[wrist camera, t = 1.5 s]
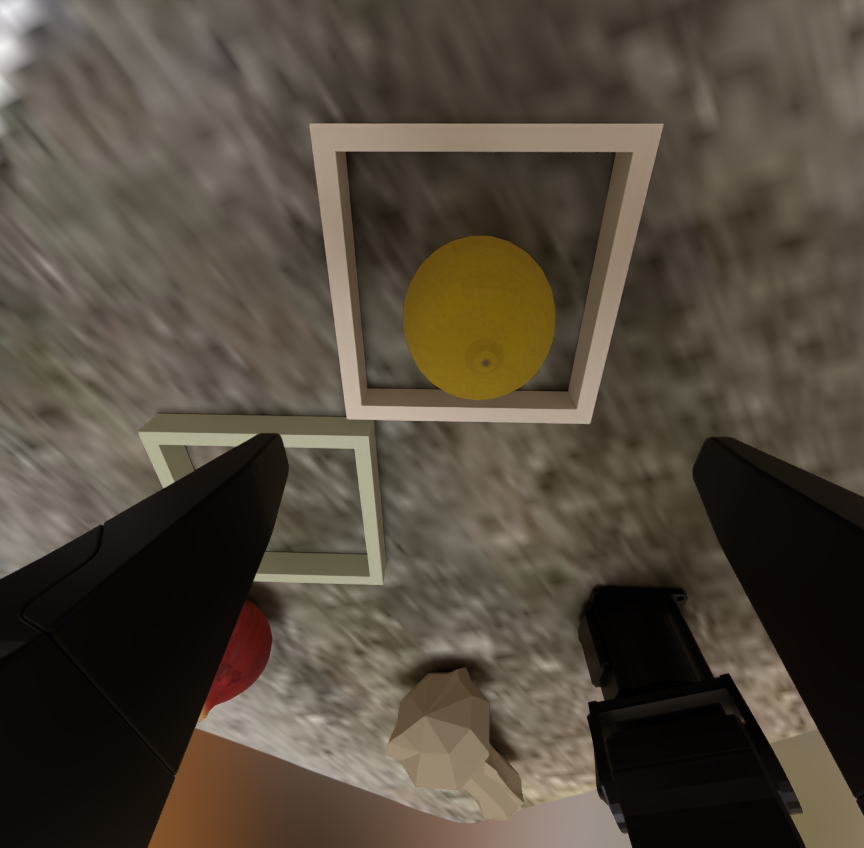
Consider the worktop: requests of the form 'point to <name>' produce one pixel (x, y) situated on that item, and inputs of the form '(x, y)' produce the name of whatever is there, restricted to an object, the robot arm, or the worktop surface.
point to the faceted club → (454, 743)
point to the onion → (241, 657)
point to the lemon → (479, 317)
